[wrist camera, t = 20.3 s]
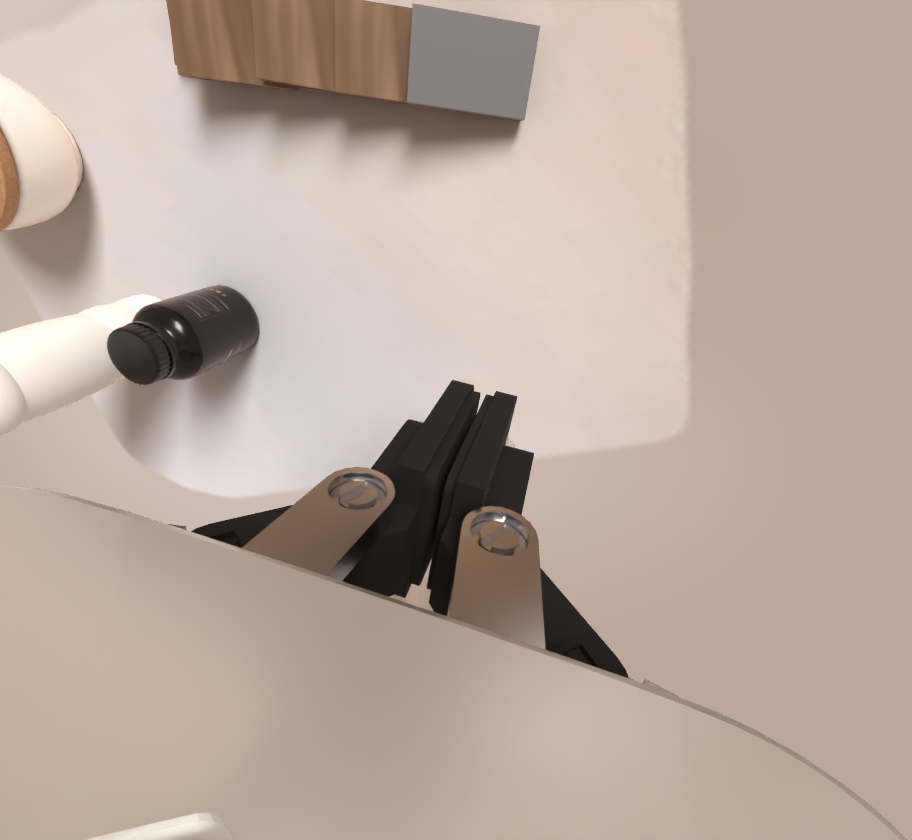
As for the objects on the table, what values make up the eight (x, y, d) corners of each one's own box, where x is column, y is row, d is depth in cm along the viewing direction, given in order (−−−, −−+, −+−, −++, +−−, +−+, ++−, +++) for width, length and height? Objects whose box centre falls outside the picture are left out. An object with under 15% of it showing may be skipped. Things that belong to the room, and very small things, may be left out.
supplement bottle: (258, 360, 49) (169, 410, 38) (200, 335, 49) (97, 378, 39) (265, 299, 45) (168, 336, 35) (202, 272, 46) (89, 302, 35)
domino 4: (539, 26, 29) (412, 3, 28) (524, 119, 32) (406, 101, 31) (534, 31, 31) (413, 10, 30) (520, 120, 33) (407, 103, 32)
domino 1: (284, -2, 32) (163, -18, 31) (289, 88, 34) (178, 74, 34) (291, 4, 33) (175, -11, 33) (296, 90, 36) (189, 77, 35)
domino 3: (460, 16, 30) (334, -5, 29) (451, 108, 33) (335, 91, 32) (459, 21, 31) (339, 2, 31) (451, 110, 34) (339, 94, 33)
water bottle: (137, 348, 52) (-178, 472, 31) (124, 285, 49) (-242, 376, 27) (192, 363, 51) (-94, 502, 30) (183, 300, 48) (-149, 407, 26)
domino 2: (376, 7, 31) (250, -18, 30) (372, 97, 34) (256, 77, 32) (377, 13, 32) (257, -11, 31) (374, 99, 35) (262, 80, 34)
